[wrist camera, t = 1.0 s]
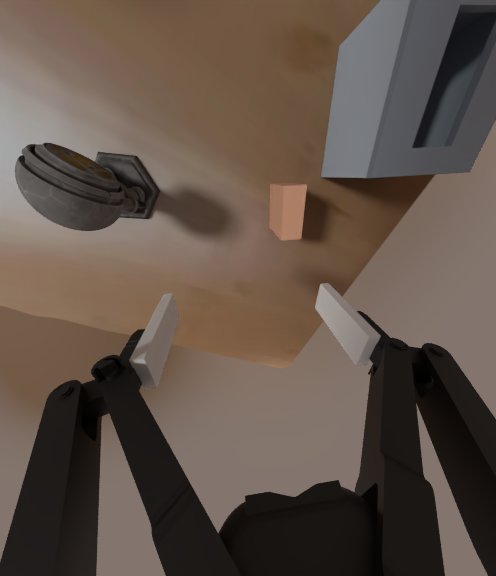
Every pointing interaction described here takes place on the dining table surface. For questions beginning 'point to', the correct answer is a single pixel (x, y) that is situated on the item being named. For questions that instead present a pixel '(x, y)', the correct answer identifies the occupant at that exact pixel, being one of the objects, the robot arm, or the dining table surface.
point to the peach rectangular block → (287, 209)
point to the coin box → (413, 90)
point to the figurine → (84, 186)
